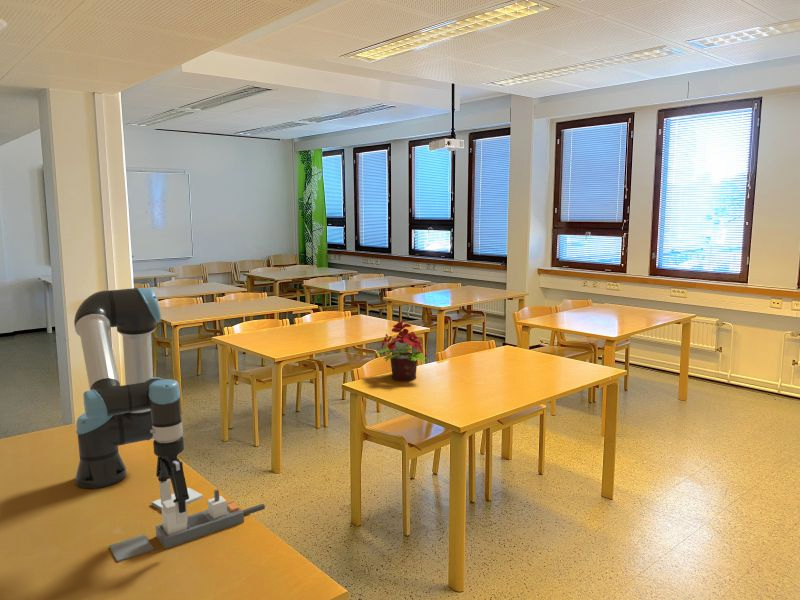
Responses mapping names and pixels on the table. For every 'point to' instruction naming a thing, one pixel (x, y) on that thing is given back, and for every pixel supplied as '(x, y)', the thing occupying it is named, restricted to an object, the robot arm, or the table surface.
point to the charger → (171, 518)
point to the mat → (131, 547)
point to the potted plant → (403, 362)
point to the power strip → (207, 521)
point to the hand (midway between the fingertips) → (174, 512)
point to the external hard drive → (192, 497)
